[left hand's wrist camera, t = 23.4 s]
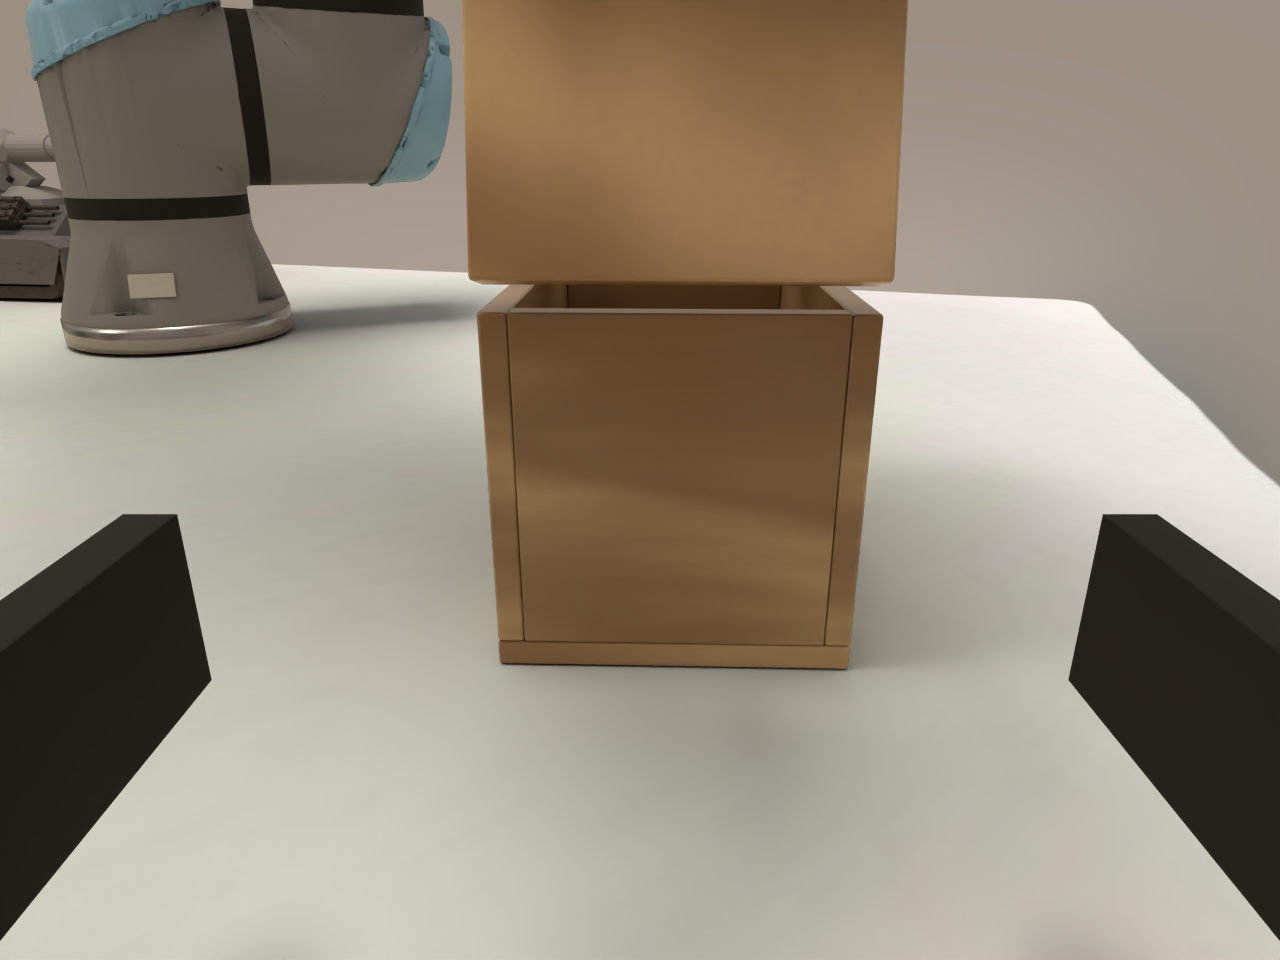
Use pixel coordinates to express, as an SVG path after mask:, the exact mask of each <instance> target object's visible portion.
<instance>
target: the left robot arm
mask: <svg viewBox="0 0 1280 960" xmlns="http://www.w3.org/2000/svg"><path fill="white" fill-rule="evenodd" d="M210 681H211V675H210V670H209V666H208V661H207V656H206V651H205V646H204V642H203V637H202V632H201V627H200V622H199V618H198V613H197V608H196V603H195V598H194V594H193V589H192V584H191V579H190V574H189V570H188V565H187V560H186V555H185V550H184V546H183V541H182V536H181V531H180V526H179V522H178V517H177V514H123V515H121V516H120V517H119V518H117V519H116V520H114V521H113V522H111V523H110V524H109V525H107V526H106V527H104V528H103V529H101V530H100V531H99V532H97V533H96V534H94V535H93V536H91V537H90V538H89V539H87V540H86V541H84V542H83V543H82V544H80V545H79V546H77V547H76V548H74V549H73V550H72V551H70V552H69V553H67V554H66V555H64V556H63V557H62V558H60V559H59V560H57V561H56V562H54V563H53V564H52V565H50V566H49V567H47V568H46V569H45V570H43V571H42V572H40V573H39V574H37V575H36V576H35V577H33V578H32V579H30V580H29V581H27V582H26V583H25V584H23V585H22V586H20V587H19V588H17V589H16V590H15V591H13V592H12V593H10V594H9V595H8V596H6V597H5V598H3V599H2V600H0V940H1V939H2V938H3V937H4V936H5V934H6V933H7V932H8V931H9V929H10V928H11V927H12V926H13V924H14V923H15V922H16V921H17V919H18V918H19V917H20V916H21V915H22V913H23V912H24V911H25V910H26V908H27V907H28V906H29V905H30V903H31V902H32V901H33V900H34V898H35V897H36V896H37V895H38V894H39V892H40V891H41V890H42V889H43V887H44V886H45V885H46V884H47V882H48V881H49V880H50V879H51V877H52V876H53V875H54V874H55V873H56V871H57V870H58V869H59V868H60V866H61V865H62V864H63V863H64V861H65V860H66V859H67V858H68V857H69V855H70V854H71V853H72V852H73V850H74V849H75V848H76V847H77V845H78V844H79V843H80V842H81V840H82V839H83V838H84V837H85V836H86V834H87V833H88V832H89V831H90V829H91V828H92V827H93V826H94V824H95V823H96V822H97V821H98V819H99V818H100V817H101V816H102V815H103V813H104V812H105V811H106V810H107V808H108V807H109V806H110V805H111V803H112V802H113V801H114V800H115V799H116V797H117V796H118V795H119V794H120V792H121V791H122V790H123V789H124V787H125V786H126V785H127V784H128V782H129V781H130V780H131V779H132V778H133V776H134V775H135V774H136V773H137V771H138V770H139V769H140V768H141V766H142V765H143V764H144V763H145V761H146V760H147V759H148V758H149V757H150V755H151V754H152V753H153V752H154V750H155V749H156V748H157V747H158V745H159V744H160V743H161V742H162V741H163V739H164V738H165V737H166V736H167V734H168V733H169V732H170V731H171V729H172V728H173V727H174V726H175V724H176V723H177V722H178V721H179V720H180V718H181V717H182V716H183V715H184V713H185V712H186V711H187V710H188V708H189V707H190V706H191V705H192V703H193V702H194V701H195V700H196V699H197V697H198V696H199V695H200V694H201V692H202V691H203V690H204V689H205V687H206V686H207V685H208V684H209V682H210ZM1069 681H1070V682H1071V684H1072V685H1073V686H1074V687H1075V689H1076V690H1077V691H1078V692H1079V694H1080V695H1081V696H1082V697H1083V699H1084V700H1085V701H1086V702H1087V703H1088V705H1089V706H1090V707H1091V708H1092V710H1093V711H1094V712H1095V713H1096V715H1097V716H1098V717H1099V718H1100V720H1101V721H1102V722H1103V723H1104V724H1105V726H1106V727H1107V728H1108V729H1109V731H1110V732H1111V733H1112V734H1113V736H1114V737H1115V738H1116V739H1117V741H1118V742H1119V743H1120V744H1121V745H1122V747H1123V748H1124V749H1125V750H1126V752H1127V753H1128V754H1129V755H1130V757H1131V758H1132V759H1133V760H1134V761H1135V763H1136V764H1137V765H1138V766H1139V768H1140V769H1141V770H1142V771H1143V773H1144V774H1145V775H1146V776H1147V778H1148V779H1149V780H1150V781H1151V782H1152V784H1153V785H1154V786H1155V787H1156V789H1157V790H1158V791H1159V792H1160V794H1161V795H1162V796H1163V797H1164V799H1165V800H1166V801H1167V802H1168V803H1169V805H1170V806H1171V807H1172V808H1173V810H1174V811H1175V812H1176V813H1177V815H1178V816H1179V817H1180V818H1181V819H1182V821H1183V822H1184V823H1185V824H1186V826H1187V827H1188V828H1189V829H1190V831H1191V832H1192V833H1193V834H1194V836H1195V837H1196V838H1197V839H1198V840H1199V842H1200V843H1201V844H1202V845H1203V847H1204V848H1205V849H1206V850H1207V852H1208V853H1209V854H1210V855H1211V857H1212V858H1213V859H1214V860H1215V861H1216V863H1217V864H1218V865H1219V866H1220V868H1221V869H1222V870H1223V871H1224V873H1225V874H1226V875H1227V876H1228V878H1229V879H1230V880H1231V881H1232V882H1233V884H1234V885H1235V886H1236V887H1237V889H1238V890H1239V891H1240V892H1241V894H1242V895H1243V896H1244V897H1245V898H1246V900H1247V901H1248V902H1249V903H1250V905H1251V906H1252V907H1253V908H1254V910H1255V911H1256V912H1257V913H1258V915H1259V916H1260V917H1261V918H1262V919H1263V921H1264V922H1265V923H1266V924H1267V926H1268V927H1269V928H1270V929H1271V931H1272V932H1273V933H1274V934H1275V936H1276V937H1277V938H1278V939H1279V940H1280V600H1278V599H1277V598H1275V597H1274V596H1272V595H1271V594H1270V593H1268V592H1267V591H1265V590H1264V589H1263V588H1261V587H1260V586H1258V585H1257V584H1255V583H1254V582H1253V581H1251V580H1250V579H1248V578H1247V577H1245V576H1244V575H1243V574H1241V573H1240V572H1238V571H1237V570H1235V569H1234V568H1233V567H1231V566H1230V565H1228V564H1227V563H1226V562H1224V561H1223V560H1221V559H1220V558H1218V557H1217V556H1216V555H1214V554H1213V553H1211V552H1210V551H1208V550H1207V549H1206V548H1204V547H1203V546H1201V545H1200V544H1198V543H1197V542H1196V541H1194V540H1193V539H1191V538H1190V537H1188V536H1187V535H1186V534H1184V533H1183V532H1181V531H1180V530H1179V529H1177V528H1176V527H1174V526H1173V525H1171V524H1170V523H1169V522H1167V521H1166V520H1164V519H1163V518H1161V517H1160V516H1159V515H1157V514H1103V517H1102V522H1101V526H1100V531H1099V536H1098V541H1097V546H1096V550H1095V555H1094V560H1093V565H1092V570H1091V574H1090V579H1089V584H1088V589H1087V594H1086V598H1085V603H1084V608H1083V613H1082V618H1081V622H1080V627H1079V632H1078V637H1077V642H1076V646H1075V651H1074V656H1073V661H1072V665H1071V670H1070V675H1069Z"/></svg>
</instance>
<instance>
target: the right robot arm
mask: <svg viewBox="0 0 1280 960" xmlns="http://www.w3.org/2000/svg"><path fill="white" fill-rule="evenodd" d="M26 25H27V31H28V37H29V43H30V50H31V56H32V62H33V68H32V70H31V74H32V76H33V79H34V80H35V81H37V83H38V87H39V92H40V96H41V100H42V105H43V109H44V113H45V118H46V122H47V126H48V131H49V135H50V139H51V144H52V148H53V152H54V157H55V161H56V166H57V170H58V175H59V180H60V184H61V189H62V194H63V197H64V201H65V206H66V210H67V215H68V220H69V225H70V231H71V239H70V247H69V254H68V262H67V270H66V277H65V285H64V293H63V301H62V308H61V319H60V320H61V324H62V328H63V333H64V337H65V341H66V344H67V345H68V346H69V347H71V348H73V349H76V350H80V351H85V352H92V353H103V354H161V353H177V352H189V351H199V350H208V349H216V348H223V347H230V346H236V345H241V344H247V343H252V342H256V341H260V340H264V339H268V338H272V337H275V336H278V335H280V334H283V333H285V332H287V331H288V330H290V329H291V328H292V326H293V322H292V315H291V308H290V303H289V301H288V299H287V296H286V294H285V292H284V290H283V288H282V286H281V284H280V282H279V279H278V277H277V275H276V273H275V271H274V269H273V267H272V265H271V263H270V261H269V259H268V257H267V255H266V253H265V251H264V249H263V247H262V245H261V243H260V241H259V239H258V237H257V235H256V232H255V230H254V228H253V224H252V220H251V214H250V208H249V202H248V196H247V186H249V185H301V184H356V183H358V184H360V183H368V184H369V185H370V186H373V187H376V186H380V185H382V184H384V183H398V182H413V181H418V180H421V179H423V178H425V177H427V176H428V175H429V174H430V173H431V172H432V171H433V170H434V168H435V167H436V165H437V163H438V161H439V159H440V156H441V154H442V151H443V148H444V145H445V140H446V136H447V131H448V125H449V119H450V110H451V98H452V63H451V60H450V58H449V55H450V45H449V39H448V35H447V32H446V30H445V28H444V27H443V25H442V24H441V23H440V22H438V21H435V20H434V19H433V18H432V17H424V11H423V0H253V8H252V9H236V8H222V7H220V0H32V1H31V3H30V4H29V6H28V9H27V13H26Z"/></svg>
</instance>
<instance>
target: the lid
mask: <svg viewBox="0 0 1280 960" xmlns="http://www.w3.org/2000/svg"><path fill="white" fill-rule="evenodd" d="M907 10H908V0H462V14H463V58H464V101H465V145H466V189H467V232H468V276H469V279H470V280H472V281H475V282H478V283H481V284H510V285H723V286H880V285H883V284H887V283H890V282H892V281H893V279H894V270H895V250H896V230H897V210H898V190H899V170H900V150H901V130H902V109H903V90H904V70H905V50H906V30H907Z"/></svg>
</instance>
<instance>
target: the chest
mask: <svg viewBox="0 0 1280 960" xmlns="http://www.w3.org/2000/svg"><path fill="white" fill-rule="evenodd" d="M477 325H478V340H479V355H480V369H481V384H482V399H483V414H484V429H485V444H486V459H487V473H488V488H489V503H490V518H491V533H492V548H493V562H494V577H495V592H496V607H497V622H498V637H499V639H500V640H499V654H500V662H501V663H537V664H597V665H657V666H717V667H777V668H837V669H846V668H848V662H849V653H850V647H849V645H850V641H851V631H852V621H853V612H854V602H855V592H856V582H857V572H858V562H859V553H860V543H861V533H862V523H863V513H864V503H865V493H866V484H867V474H868V464H869V454H870V444H871V434H872V424H873V415H874V405H875V395H876V385H877V375H878V365H879V356H880V346H881V336H882V326H883V315H882V314H880V313H879V312H878V311H876V310H875V309H874V308H873V307H871V306H870V305H869V304H867V303H866V302H865V301H863V300H862V299H861V298H859V297H858V296H857V295H856V294H854V293H853V292H852V291H850V290H849V289H848V288H846V287H845V286H723V285H510V286H508V287H507V288H506V289H505V290H504V291H503V292H501V293H500V294H499V295H498V296H497V297H496V298H494V299H493V300H492V301H491V302H490V303H489V304H488V305H486V306H485V307H484V308H483V309H482V310H481V311H479V312H478V314H477Z"/></svg>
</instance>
